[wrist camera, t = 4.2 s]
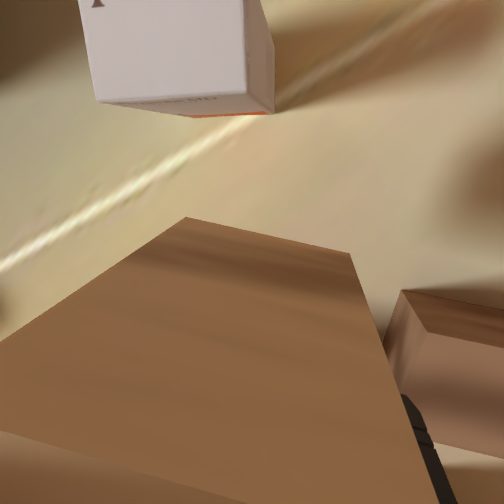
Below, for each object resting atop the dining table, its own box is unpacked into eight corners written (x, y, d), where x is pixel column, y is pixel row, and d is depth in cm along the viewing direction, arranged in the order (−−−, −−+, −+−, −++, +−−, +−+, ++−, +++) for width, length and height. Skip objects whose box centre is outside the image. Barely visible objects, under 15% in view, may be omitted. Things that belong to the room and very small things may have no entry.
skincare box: (193, 120, 23) (89, 104, 12) (187, 52, 22) (64, -37, 11) (278, 116, 23) (249, 95, 11) (277, 44, 21) (245, -60, 10)
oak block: (186, 216, 12) (-92, 404, 4) (349, 253, 12) (461, 566, 3) (170, 350, 14) (-27, 661, 6) (308, 386, 14) (309, 783, 5)
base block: (400, 289, 25) (427, 332, 20) (510, 310, 25) (570, 362, 19) (371, 372, 28) (388, 431, 22) (469, 394, 27) (511, 460, 22)
